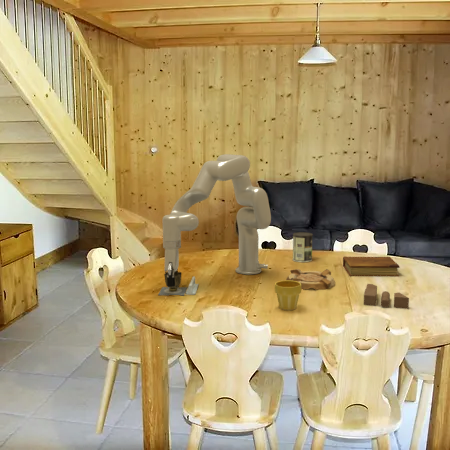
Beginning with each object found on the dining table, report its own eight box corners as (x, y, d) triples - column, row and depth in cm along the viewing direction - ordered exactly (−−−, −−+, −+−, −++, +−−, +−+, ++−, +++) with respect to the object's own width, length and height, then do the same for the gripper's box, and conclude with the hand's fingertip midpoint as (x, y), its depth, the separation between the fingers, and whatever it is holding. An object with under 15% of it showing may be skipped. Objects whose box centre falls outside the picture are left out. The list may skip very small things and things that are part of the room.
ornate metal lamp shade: (179, 293, 233) (178, 275, 232) (162, 292, 235) (161, 274, 233) (183, 288, 240) (183, 270, 239) (167, 287, 242) (167, 270, 240)
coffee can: (310, 257, 296) (311, 231, 294) (313, 262, 286) (314, 235, 284) (291, 257, 296) (291, 232, 294) (293, 262, 286) (293, 235, 284)
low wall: (198, 285, 247) (198, 276, 246) (195, 294, 233) (195, 285, 232) (189, 285, 247) (189, 276, 246) (185, 294, 233) (185, 285, 233)
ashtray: (298, 273, 266) (299, 263, 266) (345, 281, 253) (345, 271, 252) (273, 285, 247) (273, 274, 247) (322, 294, 234) (322, 283, 233)
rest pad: (187, 288, 243) (187, 287, 243) (184, 295, 232) (184, 294, 232) (162, 287, 243) (162, 286, 243) (158, 295, 233) (158, 294, 232)
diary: (388, 267, 278) (389, 256, 277) (398, 277, 259) (399, 266, 258) (342, 267, 279) (343, 255, 278) (349, 277, 260) (350, 265, 259)
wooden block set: (363, 292, 217) (366, 280, 234) (363, 306, 218) (366, 293, 235) (409, 296, 212) (408, 283, 229) (408, 310, 213) (407, 297, 230)
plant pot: (272, 303, 221) (272, 280, 219) (297, 302, 222) (298, 279, 220) (276, 312, 211) (277, 287, 209) (303, 311, 212) (304, 286, 210)
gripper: (166, 239, 243) (167, 277, 246) (159, 248, 226) (160, 288, 229) (183, 239, 242) (184, 277, 245) (177, 248, 225) (178, 289, 228)
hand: (172, 283), depth 237 cm, fingers open, 9 cm apart
